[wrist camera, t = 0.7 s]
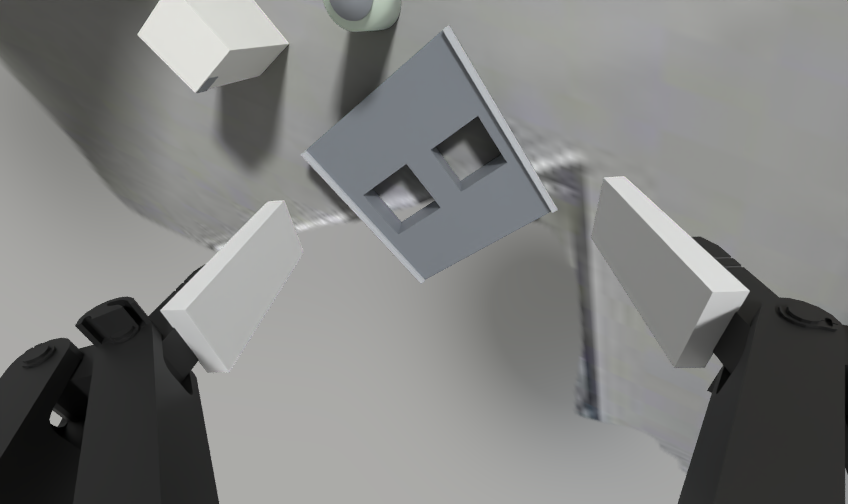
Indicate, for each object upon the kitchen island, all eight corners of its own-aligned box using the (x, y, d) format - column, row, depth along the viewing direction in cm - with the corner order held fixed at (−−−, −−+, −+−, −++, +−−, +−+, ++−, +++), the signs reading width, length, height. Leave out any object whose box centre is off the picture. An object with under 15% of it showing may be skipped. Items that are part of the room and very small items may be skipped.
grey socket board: (312, 144, 36) (300, 154, 34) (449, 24, 30) (448, 24, 27) (422, 267, 45) (420, 283, 42) (550, 196, 38) (557, 209, 35)
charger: (220, 31, 31) (136, 34, 23) (249, -6, 29) (169, -17, 21) (259, 76, 33) (195, 93, 25) (289, 44, 31) (230, 50, 23)
